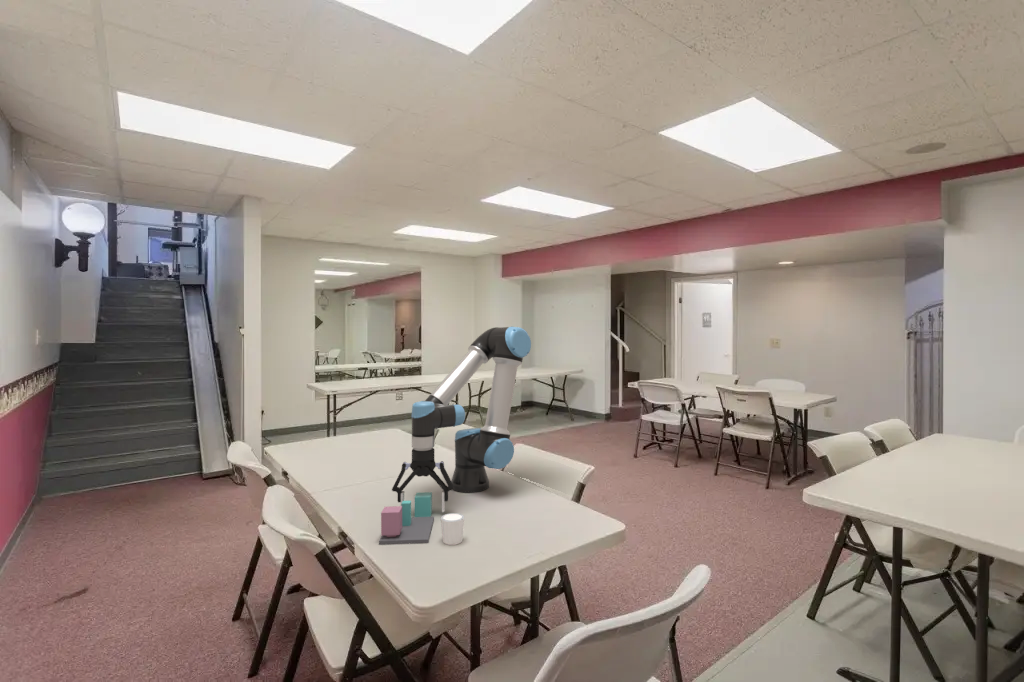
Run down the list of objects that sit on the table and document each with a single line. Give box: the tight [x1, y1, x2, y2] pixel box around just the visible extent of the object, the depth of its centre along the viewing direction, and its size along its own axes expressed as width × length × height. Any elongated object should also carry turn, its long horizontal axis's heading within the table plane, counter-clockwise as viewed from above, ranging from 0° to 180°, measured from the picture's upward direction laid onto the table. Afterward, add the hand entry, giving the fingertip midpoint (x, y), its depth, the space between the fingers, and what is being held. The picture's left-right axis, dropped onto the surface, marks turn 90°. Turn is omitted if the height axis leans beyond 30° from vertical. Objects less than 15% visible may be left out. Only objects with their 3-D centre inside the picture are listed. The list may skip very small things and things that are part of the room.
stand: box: [378, 500, 435, 546], centre depth 147 cm, size 14×18×9 cm
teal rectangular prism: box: [414, 491, 433, 517], centre depth 161 cm, size 5×5×7 cm
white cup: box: [440, 512, 465, 546], centre depth 140 cm, size 7×7×7 cm
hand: (423, 511), depth 161 cm, fingers open, 13 cm apart
